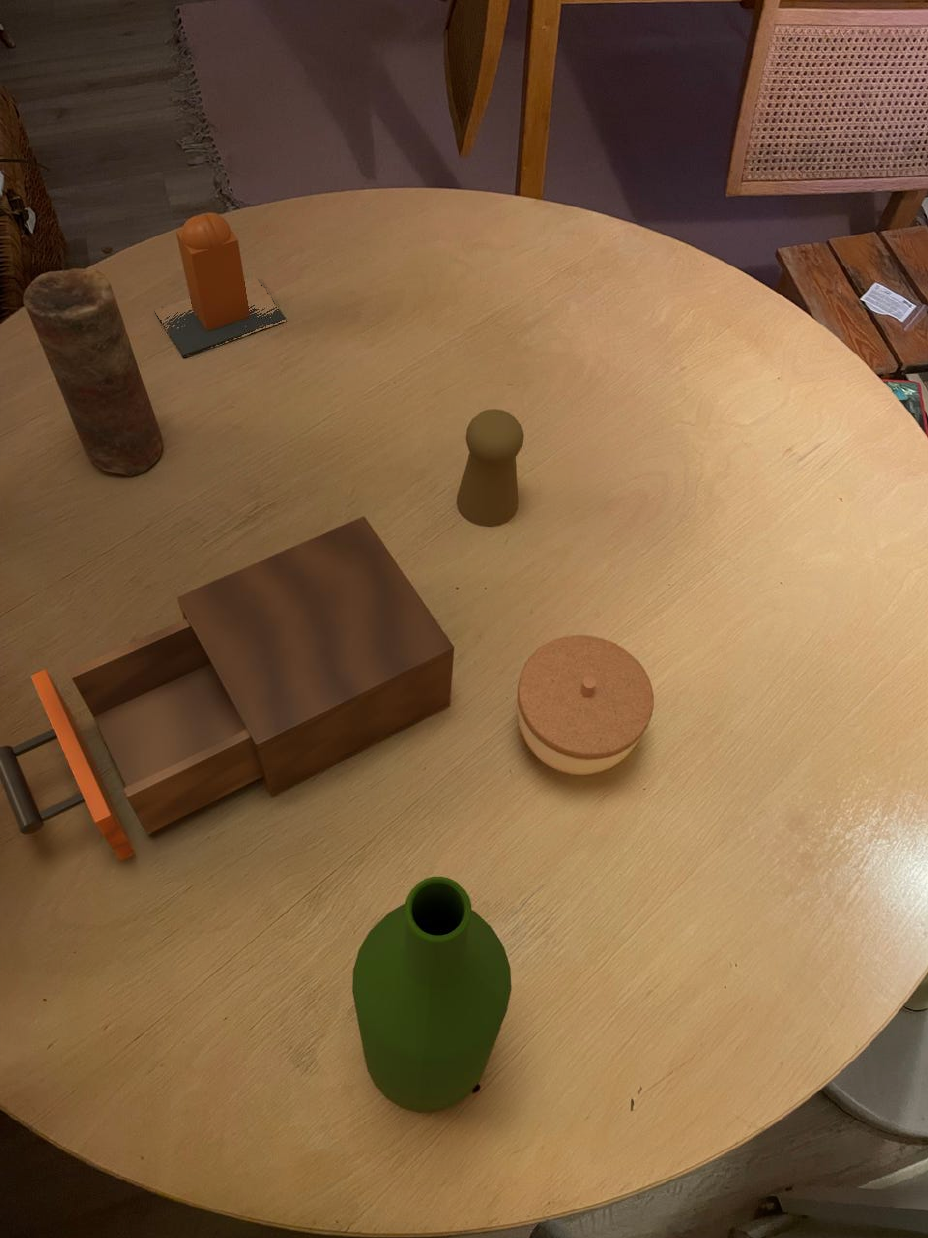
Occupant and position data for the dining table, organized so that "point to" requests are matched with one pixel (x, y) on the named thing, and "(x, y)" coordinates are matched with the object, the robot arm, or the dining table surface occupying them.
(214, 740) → the drawer
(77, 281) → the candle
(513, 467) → the chess pawn piece
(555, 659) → the trinket box
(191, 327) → the mat
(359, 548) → the cabinet
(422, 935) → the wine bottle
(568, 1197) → the dining table surface
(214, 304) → the tall orange block
